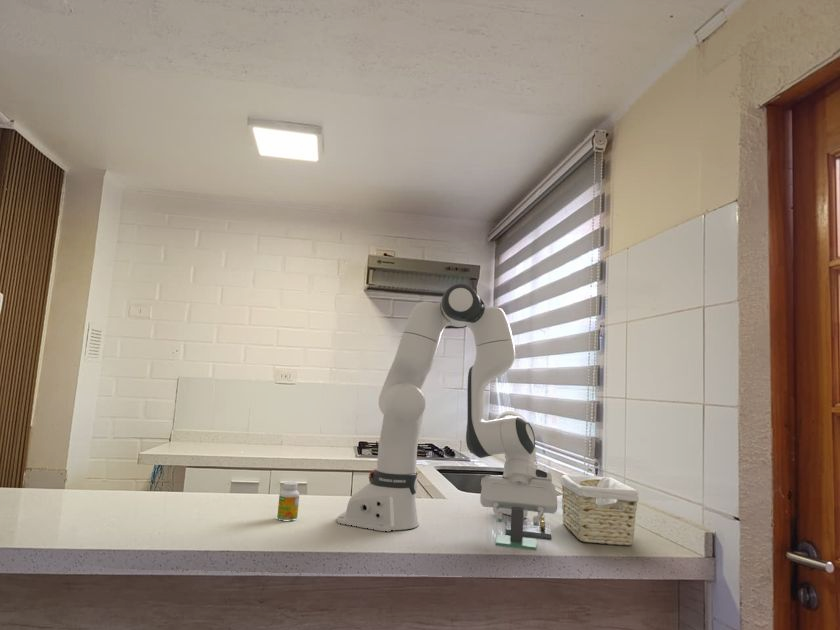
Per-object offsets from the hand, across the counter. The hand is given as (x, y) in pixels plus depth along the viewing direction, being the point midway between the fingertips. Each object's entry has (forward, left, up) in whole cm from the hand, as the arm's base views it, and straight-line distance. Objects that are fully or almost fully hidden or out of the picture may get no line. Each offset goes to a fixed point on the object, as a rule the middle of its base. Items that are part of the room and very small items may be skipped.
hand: (517, 522), depth 138 cm
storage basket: (+22, +19, -5) cm, 29 cm away
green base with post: (0, 0, -5) cm, 5 cm away
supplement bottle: (-62, -3, -5) cm, 62 cm away
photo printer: (-2, +32, -5) cm, 33 cm away
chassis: (+3, +14, -5) cm, 15 cm away
